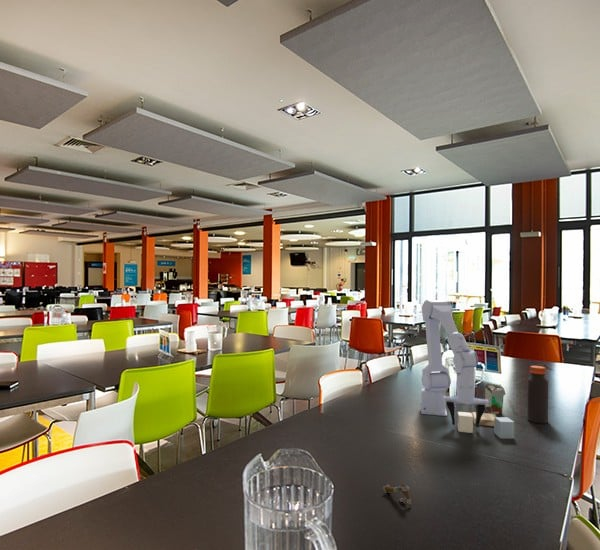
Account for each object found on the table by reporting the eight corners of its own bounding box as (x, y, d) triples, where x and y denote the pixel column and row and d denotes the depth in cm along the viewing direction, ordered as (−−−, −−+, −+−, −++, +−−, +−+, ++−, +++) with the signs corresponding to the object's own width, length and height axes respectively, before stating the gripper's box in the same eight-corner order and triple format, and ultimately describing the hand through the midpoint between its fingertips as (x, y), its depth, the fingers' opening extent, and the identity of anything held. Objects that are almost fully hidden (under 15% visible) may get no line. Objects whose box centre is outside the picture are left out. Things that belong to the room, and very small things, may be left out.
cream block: (458, 431, 144) (458, 415, 144) (457, 427, 148) (457, 411, 148) (472, 433, 142) (472, 416, 142) (471, 428, 147) (471, 412, 147)
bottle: (547, 419, 157) (547, 366, 157) (549, 425, 151) (549, 369, 151) (526, 416, 160) (526, 364, 160) (527, 422, 154) (528, 367, 154)
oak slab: (474, 425, 151) (474, 418, 151) (472, 418, 158) (472, 411, 159) (499, 428, 149) (499, 420, 149) (495, 420, 156) (495, 414, 156)
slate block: (500, 438, 138) (500, 421, 138) (494, 433, 142) (494, 417, 142) (514, 438, 138) (514, 421, 138) (507, 433, 142) (507, 417, 142)
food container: (509, 418, 158) (509, 391, 158) (492, 417, 159) (492, 390, 159) (500, 408, 170) (500, 383, 170) (484, 407, 171) (484, 382, 171)
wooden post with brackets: (410, 507, 94) (404, 485, 96) (387, 506, 100) (382, 485, 102) (416, 504, 95) (410, 483, 97) (393, 504, 101) (388, 484, 103)
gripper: (444, 387, 143) (443, 426, 143) (489, 390, 139) (489, 431, 139) (442, 382, 150) (442, 420, 150) (486, 385, 146) (486, 424, 146)
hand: (465, 425), depth 145 cm, fingers open, 7 cm apart
